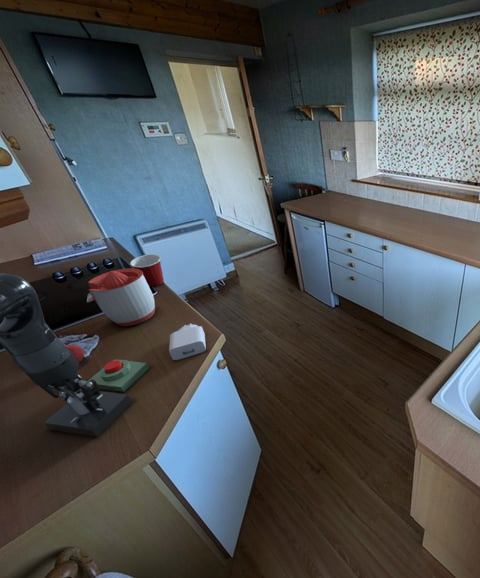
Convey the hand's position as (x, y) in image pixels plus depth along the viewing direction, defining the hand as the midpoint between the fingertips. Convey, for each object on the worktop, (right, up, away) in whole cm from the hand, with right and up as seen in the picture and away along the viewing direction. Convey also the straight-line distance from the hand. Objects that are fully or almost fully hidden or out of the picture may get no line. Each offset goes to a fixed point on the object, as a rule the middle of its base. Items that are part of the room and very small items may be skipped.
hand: (87, 407), depth 74 cm
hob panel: (0, -3, +2) cm, 3 cm away
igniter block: (-3, +4, +12) cm, 13 cm away
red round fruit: (-20, +7, +17) cm, 27 cm away
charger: (+9, +12, +25) cm, 30 cm away
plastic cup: (-27, +32, +58) cm, 72 cm away
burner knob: (0, 0, 0) cm, 0 cm away
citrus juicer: (-19, +19, +36) cm, 45 cm away
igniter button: (-3, +7, +10) cm, 13 cm away
